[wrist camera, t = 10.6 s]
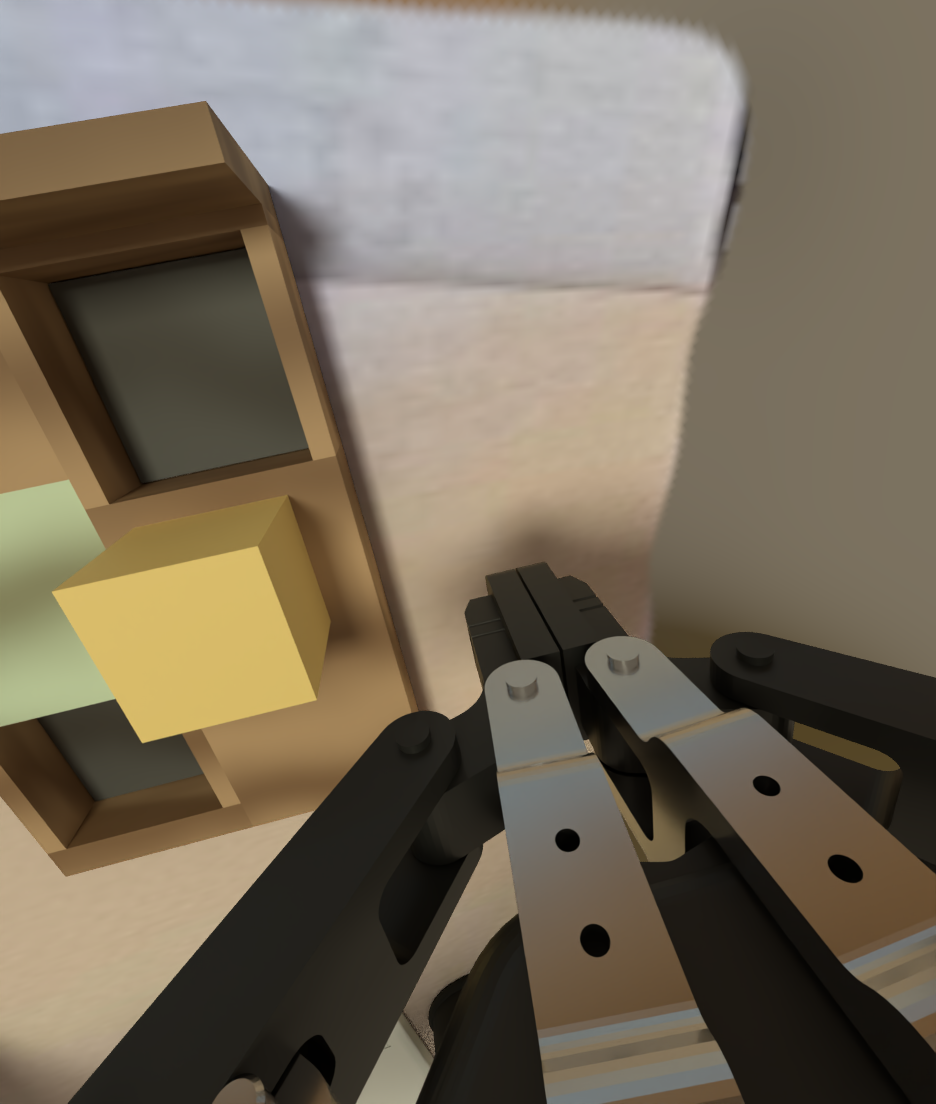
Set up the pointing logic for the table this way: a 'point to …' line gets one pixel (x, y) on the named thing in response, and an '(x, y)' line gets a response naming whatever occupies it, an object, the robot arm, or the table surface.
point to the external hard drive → (398, 1068)
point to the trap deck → (162, 476)
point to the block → (203, 618)
